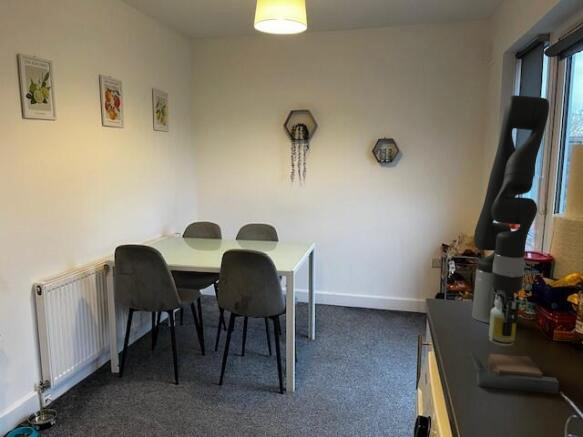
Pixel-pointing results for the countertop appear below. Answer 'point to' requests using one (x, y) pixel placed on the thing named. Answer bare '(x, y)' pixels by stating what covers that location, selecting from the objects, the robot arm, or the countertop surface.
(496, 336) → the pill bottle
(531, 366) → the slab
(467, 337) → the countertop surface
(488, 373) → the dark grey tray
